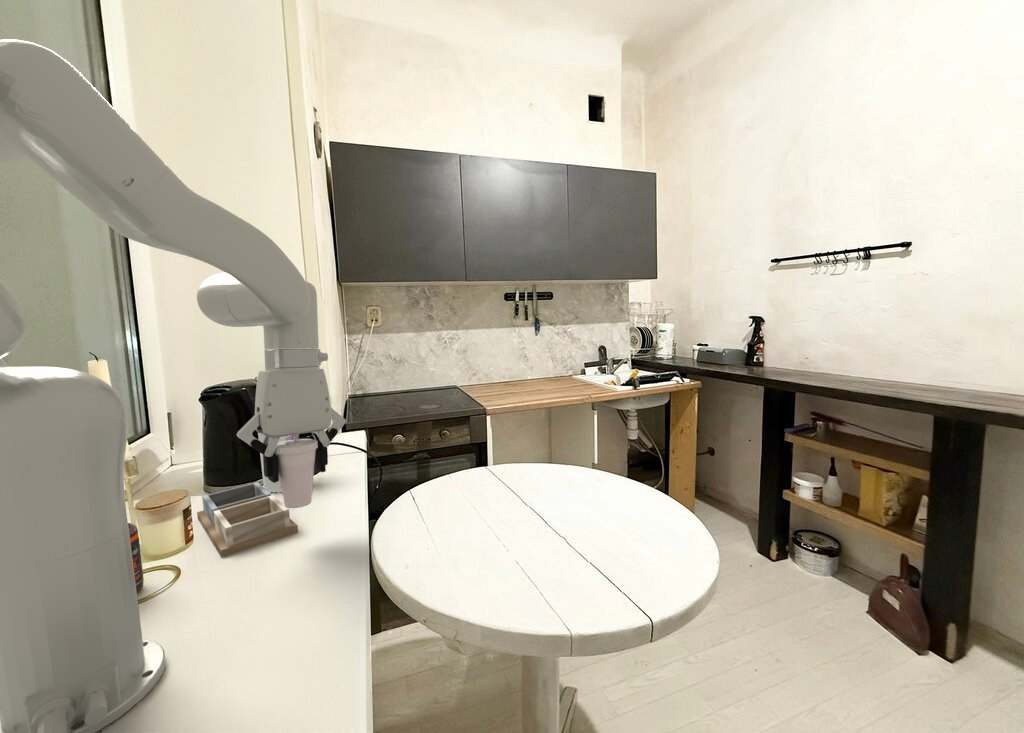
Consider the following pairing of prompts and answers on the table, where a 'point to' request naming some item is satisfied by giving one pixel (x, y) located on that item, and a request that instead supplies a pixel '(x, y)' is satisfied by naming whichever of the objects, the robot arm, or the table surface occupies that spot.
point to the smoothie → (296, 470)
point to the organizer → (244, 518)
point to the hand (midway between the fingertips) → (297, 474)
